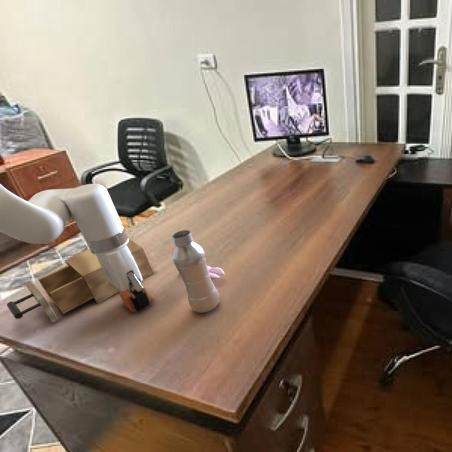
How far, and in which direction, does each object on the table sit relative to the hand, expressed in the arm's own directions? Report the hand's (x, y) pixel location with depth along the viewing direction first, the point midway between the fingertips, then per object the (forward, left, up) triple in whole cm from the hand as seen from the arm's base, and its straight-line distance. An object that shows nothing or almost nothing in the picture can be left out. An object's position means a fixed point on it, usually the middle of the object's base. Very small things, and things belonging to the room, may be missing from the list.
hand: (137, 302), depth 86 cm
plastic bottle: (+14, -12, -1) cm, 18 cm away
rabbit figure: (+16, 0, -1) cm, 16 cm away
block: (0, 0, 0) cm, 0 cm away
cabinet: (-4, +15, 0) cm, 16 cm away
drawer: (-15, +11, 0) cm, 19 cm away
